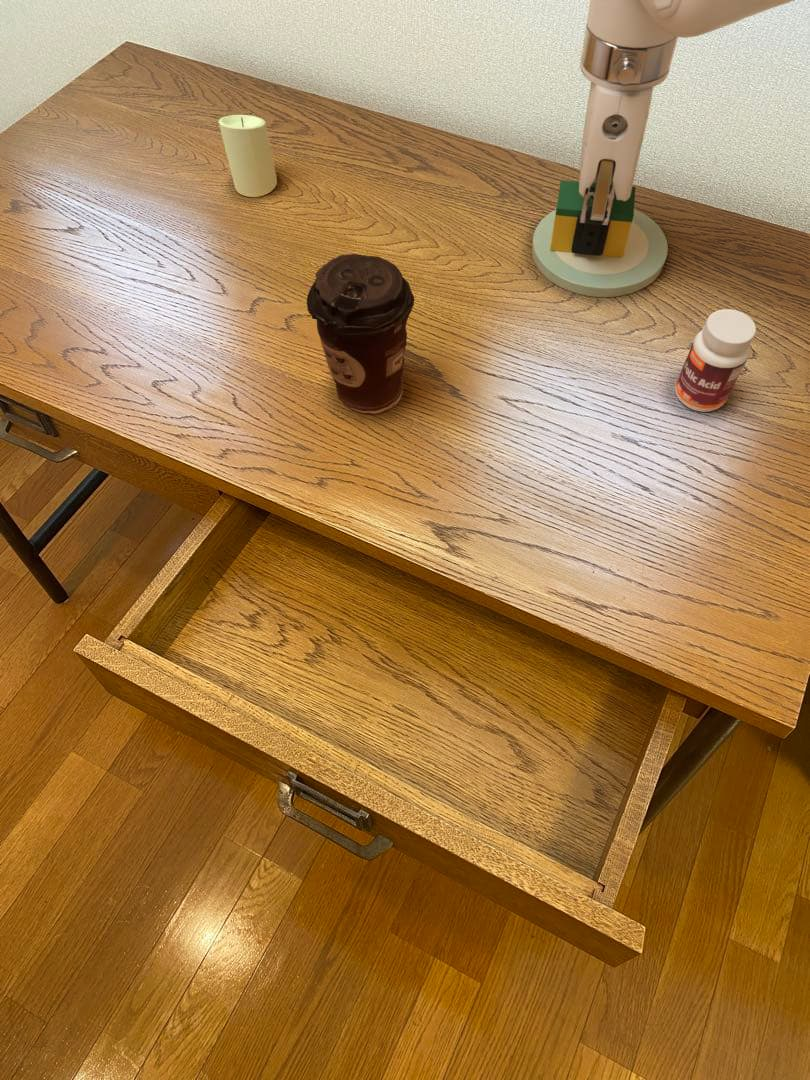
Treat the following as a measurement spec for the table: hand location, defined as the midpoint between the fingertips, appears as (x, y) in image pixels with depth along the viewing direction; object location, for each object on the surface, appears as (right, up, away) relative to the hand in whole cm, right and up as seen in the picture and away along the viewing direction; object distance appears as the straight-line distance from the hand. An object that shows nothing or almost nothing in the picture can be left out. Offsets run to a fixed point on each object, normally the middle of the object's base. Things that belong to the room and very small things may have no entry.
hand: (588, 234), depth 78 cm
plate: (+1, -1, +1) cm, 2 cm away
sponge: (0, 0, +1) cm, 1 cm away
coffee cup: (-23, -18, -7) cm, 30 cm away
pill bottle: (+8, -19, -9) cm, 22 cm away
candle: (-37, +10, +10) cm, 39 cm away
